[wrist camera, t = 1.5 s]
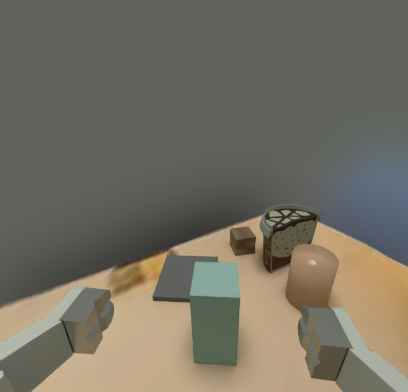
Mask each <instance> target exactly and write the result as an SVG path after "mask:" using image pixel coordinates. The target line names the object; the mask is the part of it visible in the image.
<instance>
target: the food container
mask: <svg viewBox="0 0 408 392" xmlns="http://www.w3.org/2000/svg"><path fill="white" fill-rule="evenodd" d="M318 220H319V221H320V211H318V210H316V209H313V208H309V207H306V206H300V205H289V204H288V205H287V204H286V205H277V206H273V207H271V208H269V209H267V210H266V211H265V213H264V214H263V216H262V219H261V222H260V229H261V231H262V233H263V260H264V265H265V267H266V269H267V270H268V271H269V272H270V273H273V272H275V271H277V270H280V269H282V268H284V267H286V266H289V265H290V263H291V257H292V251H293V249H294V248H295V247H296V246H298V245H301V244H311V243H312V239H313V236H314V232H315V229H316V225H317V222H318Z"/></svg>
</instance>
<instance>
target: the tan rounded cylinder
mask: <svg viewBox="0 0 408 392" xmlns="http://www.w3.org/2000/svg"><path fill="white" fill-rule="evenodd" d="M338 265H339V261H338V259H337V257H336V256H335V255H334V254H333V253H332V252H331V251H329V250H327V249H325V248H323V247H321V246H317V245H313V244H301V245H298V246H296V247H295V248H294V249H293V251H292V257H291V263H290V269H289V274H288V280H287V286H286V297H287V299H288V301H289V302H290V303H291V305H293V306H294V307H295V308H296V309H298V310H300V311H301V310H302V307H303V306H304V305H306V306H321V307H327V304H328V300H329V297H330V293H331V290H332V286H333V283H334V279H335V276H336V272H337V269H338Z"/></svg>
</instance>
